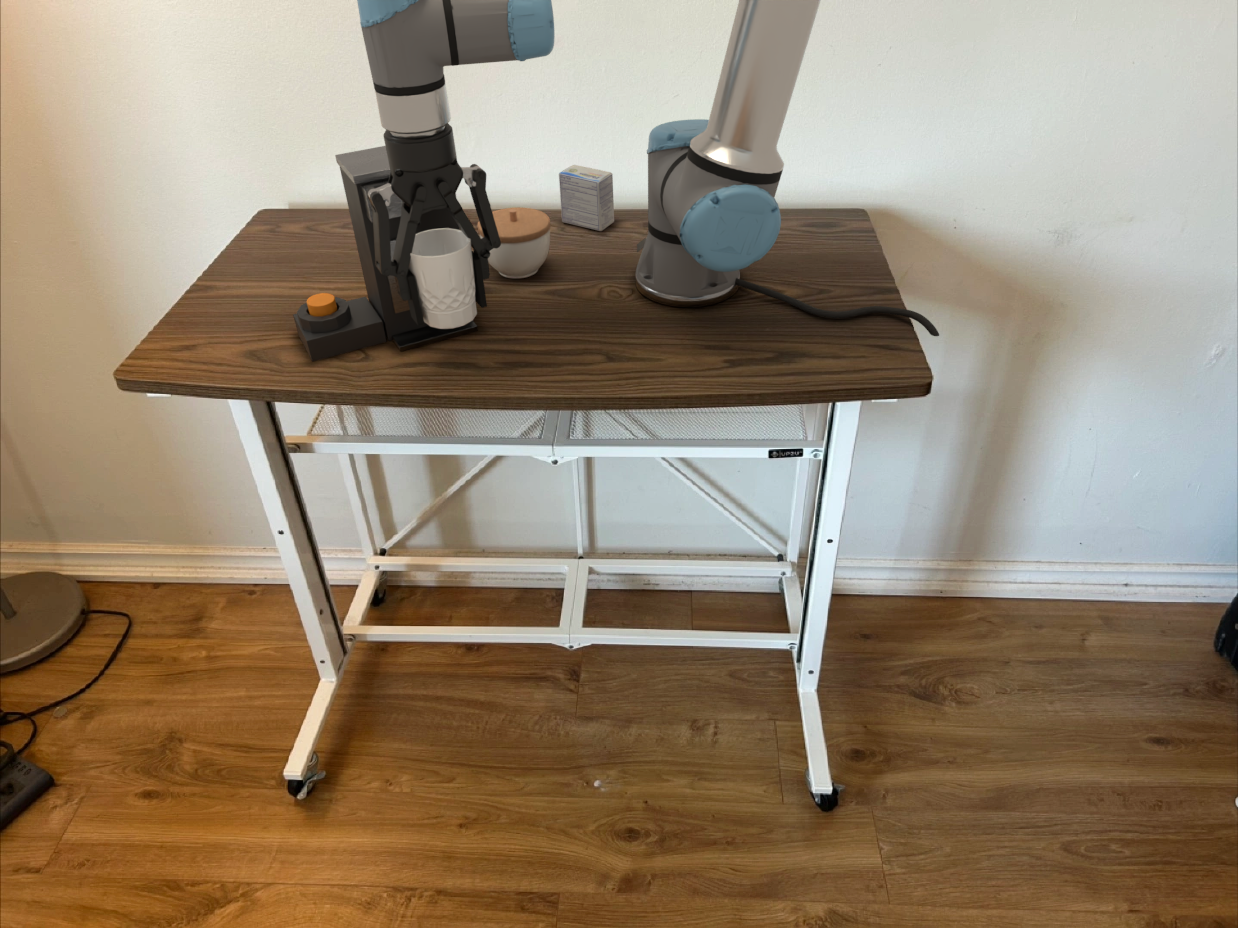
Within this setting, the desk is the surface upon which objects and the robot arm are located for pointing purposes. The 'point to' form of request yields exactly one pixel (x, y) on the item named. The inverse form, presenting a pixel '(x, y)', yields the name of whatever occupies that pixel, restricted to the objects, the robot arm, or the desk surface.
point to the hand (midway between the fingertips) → (449, 311)
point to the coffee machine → (381, 290)
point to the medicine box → (586, 197)
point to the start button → (321, 304)
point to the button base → (339, 328)
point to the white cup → (444, 277)
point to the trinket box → (520, 241)
